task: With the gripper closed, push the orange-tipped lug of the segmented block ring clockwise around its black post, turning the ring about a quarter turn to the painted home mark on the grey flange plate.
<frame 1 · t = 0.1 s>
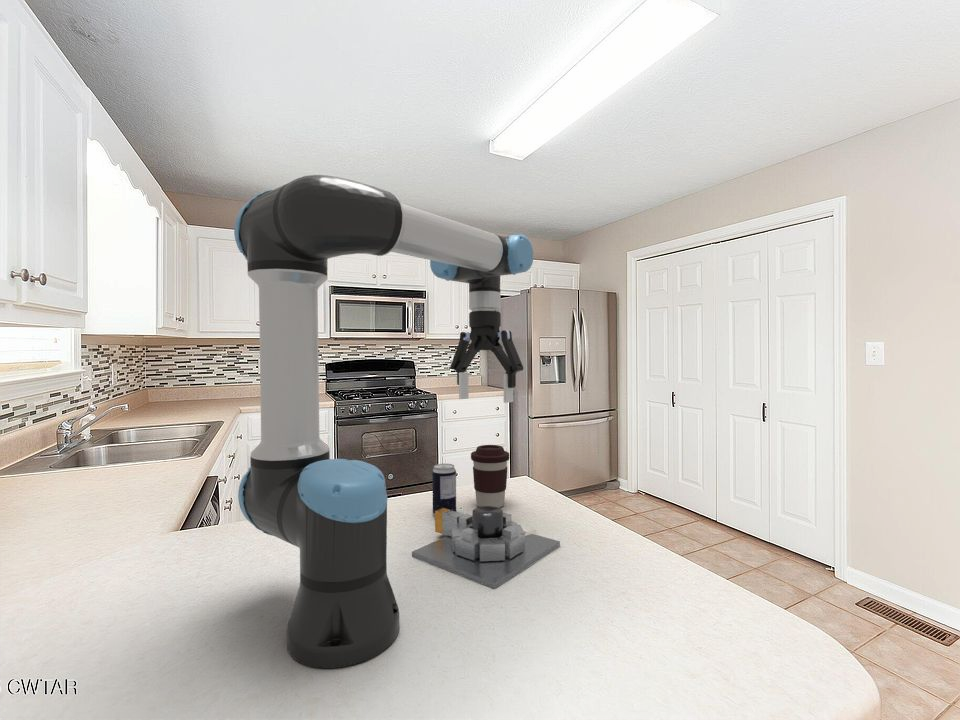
hand: (485, 400, 113), 28 cm above the countertop, fingers open, 13 cm apart
coffee cup: (490, 505, 122), on the countertop
flange plate: (487, 551, 94), on the countertop
segmented block ring: (475, 530, 95), point 3 cm above the countertop, hinge at 0.0°
beverage can: (444, 516, 114), on the countertop
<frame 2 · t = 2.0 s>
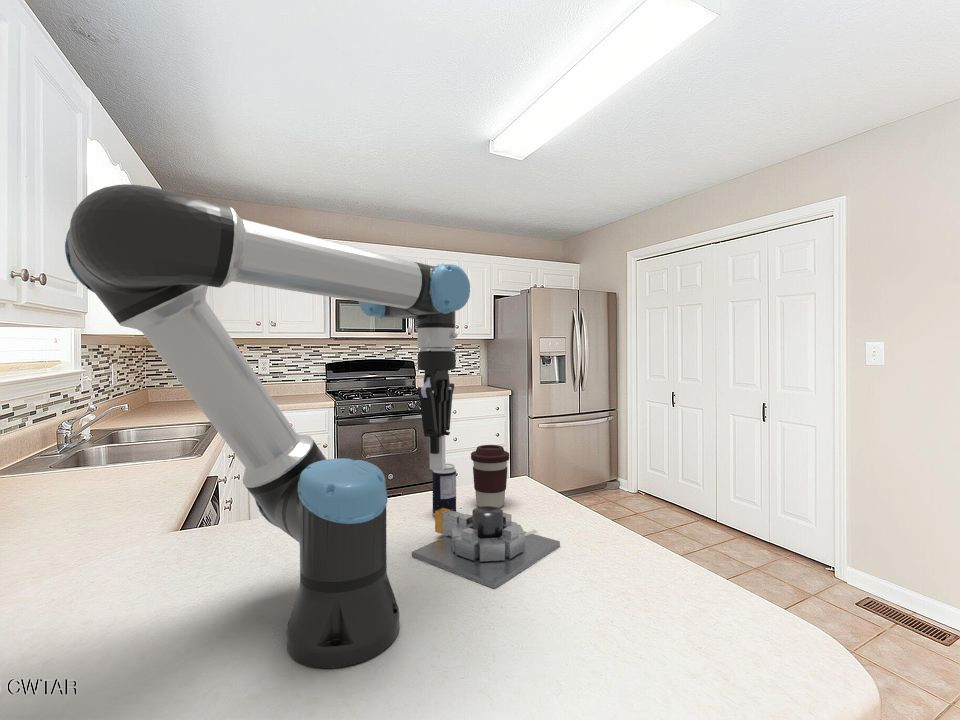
hand: (437, 468, 94), 16 cm above the countertop, fingers closed
nothing on the countertop moved.
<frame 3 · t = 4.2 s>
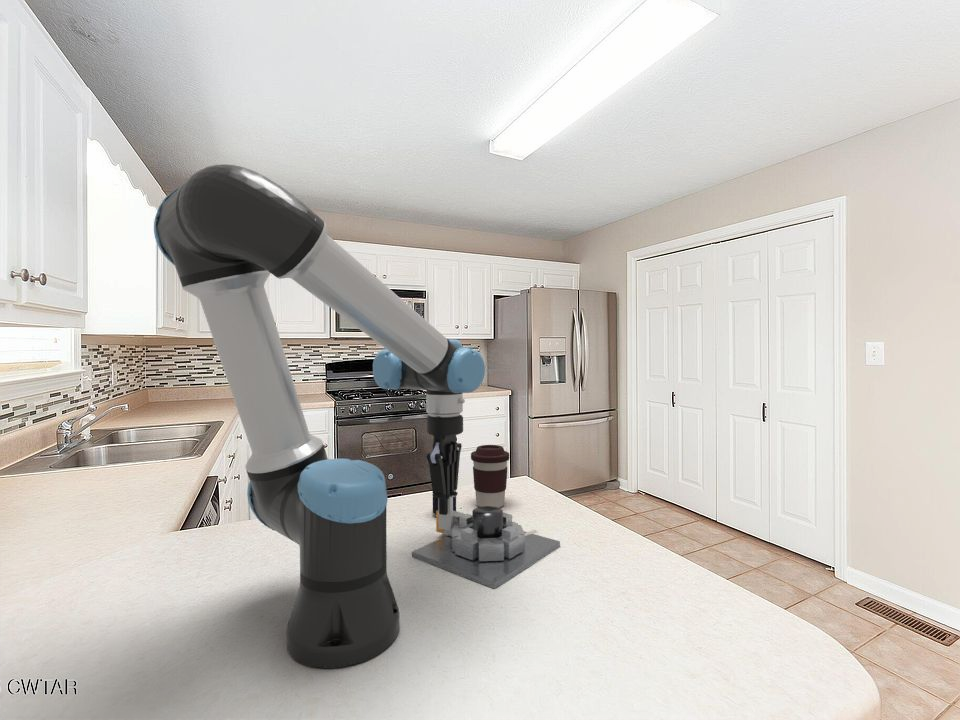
hand: (445, 528, 98), 3 cm above the countertop, fingers closed
segmented block ring: (475, 530, 95), point 3 cm above the countertop, hinge at -1.6°, touching gripper
everything else where it was.
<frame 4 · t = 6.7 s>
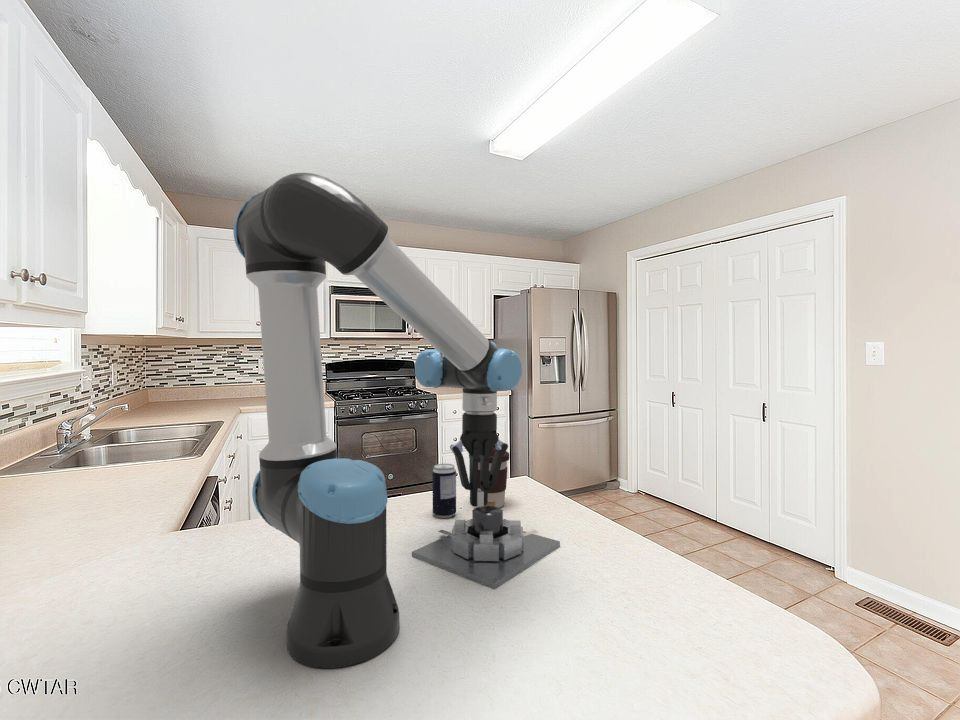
hand: (478, 520, 103), 3 cm above the countertop, fingers closed
segmented block ring: (488, 528, 97), point 3 cm above the countertop, hinge at -54.4°, touching gripper
everything else where it was.
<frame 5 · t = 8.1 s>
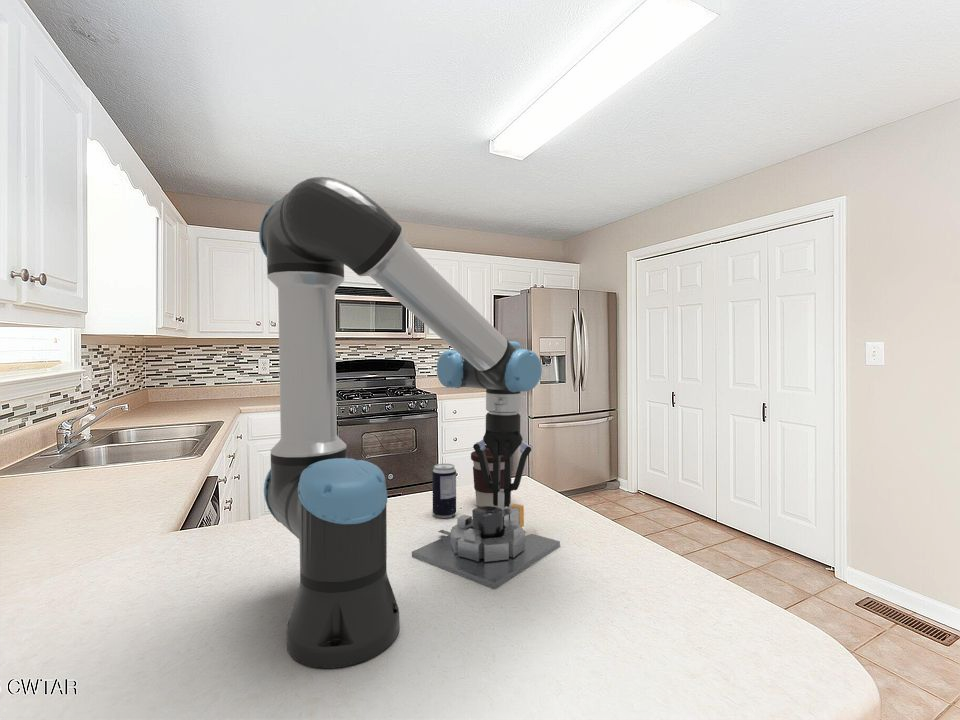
hand: (501, 520, 103), 3 cm above the countertop, fingers closed
segmented block ring: (495, 528, 96), point 3 cm above the countertop, hinge at -83.6°, touching gripper
everything else where it was.
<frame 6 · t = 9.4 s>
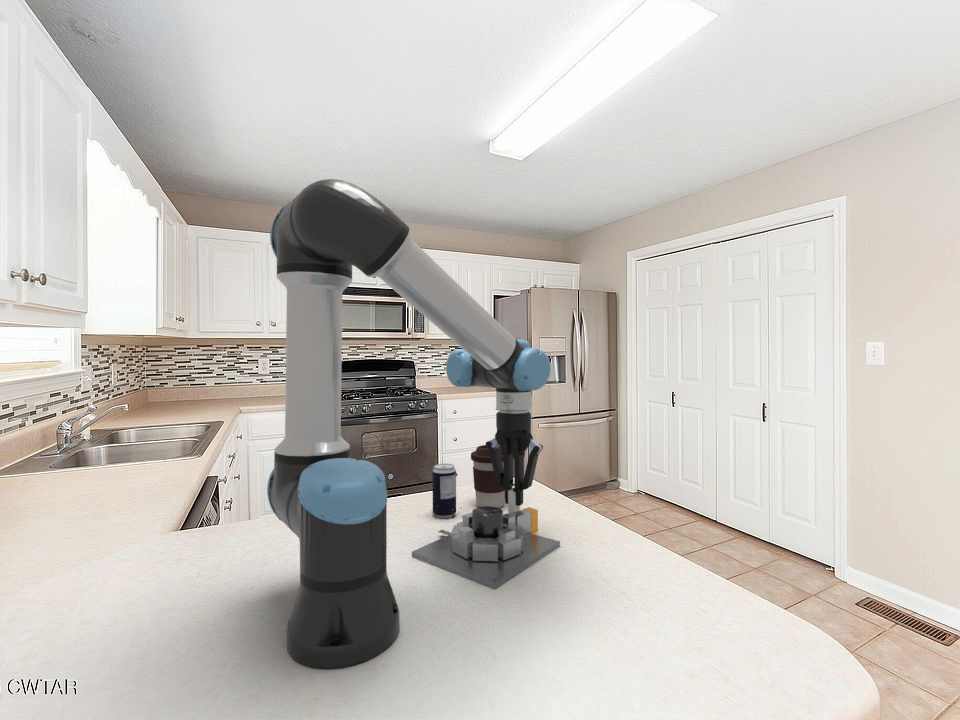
hand: (514, 519, 103), 3 cm above the countertop, fingers closed
segmented block ring: (499, 530, 95), point 3 cm above the countertop, hinge at -100.9°
everything else where it was.
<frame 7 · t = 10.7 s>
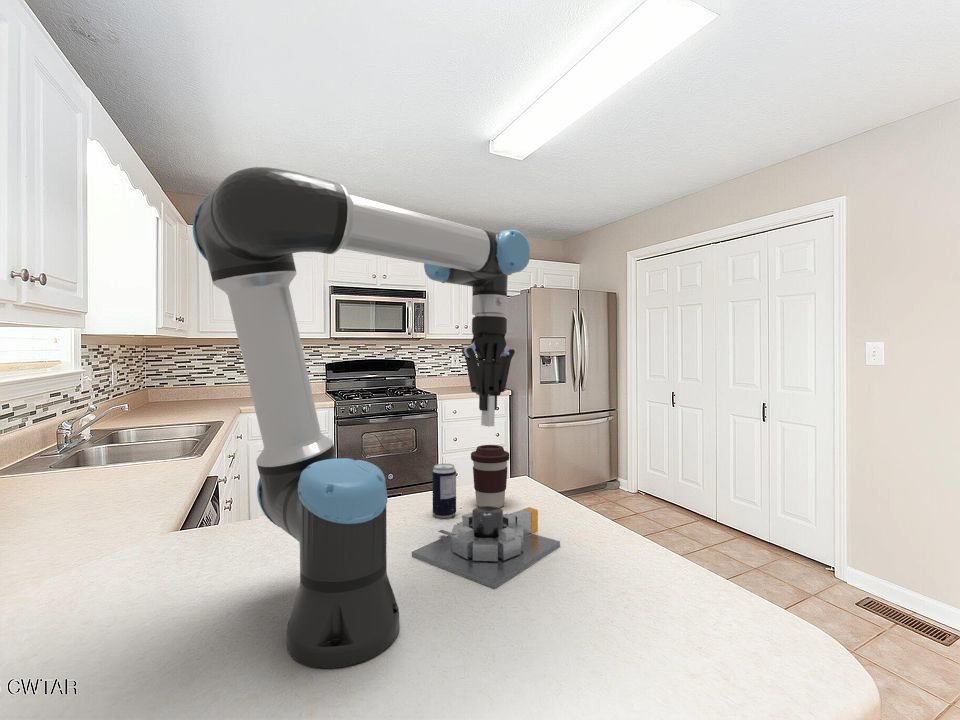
hand: (487, 425, 102), 24 cm above the countertop, fingers closed
nothing on the countertop moved.
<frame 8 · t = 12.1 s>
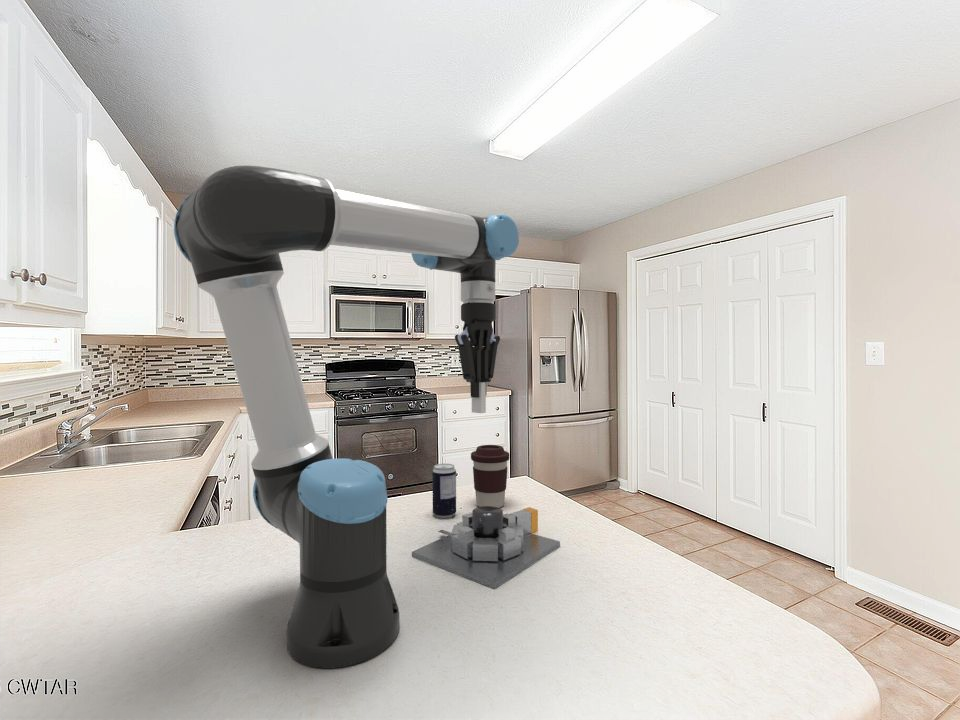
hand: (478, 412, 102), 26 cm above the countertop, fingers closed
nothing on the countertop moved.
at the end: segmented block ring at -101° (first picture: +0°); beverage can moved 0.2 cm from its start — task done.
